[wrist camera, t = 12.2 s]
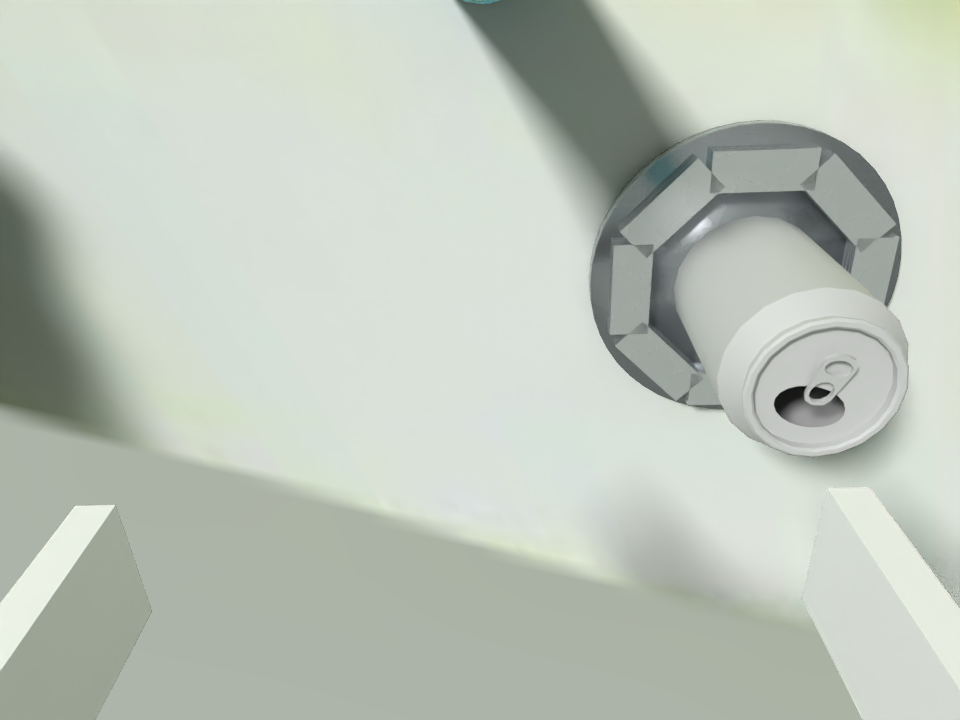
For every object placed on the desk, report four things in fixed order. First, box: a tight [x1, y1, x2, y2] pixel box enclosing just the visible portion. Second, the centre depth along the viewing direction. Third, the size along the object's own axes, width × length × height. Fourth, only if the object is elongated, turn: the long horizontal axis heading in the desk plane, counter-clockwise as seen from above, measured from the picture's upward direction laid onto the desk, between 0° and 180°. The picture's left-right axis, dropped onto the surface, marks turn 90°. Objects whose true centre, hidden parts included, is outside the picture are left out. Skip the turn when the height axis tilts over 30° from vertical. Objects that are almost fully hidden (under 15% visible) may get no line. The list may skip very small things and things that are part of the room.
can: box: [674, 216, 909, 457], centre depth 34 cm, size 8×8×12 cm
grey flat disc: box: [589, 120, 901, 408], centre depth 39 cm, size 16×16×2 cm
